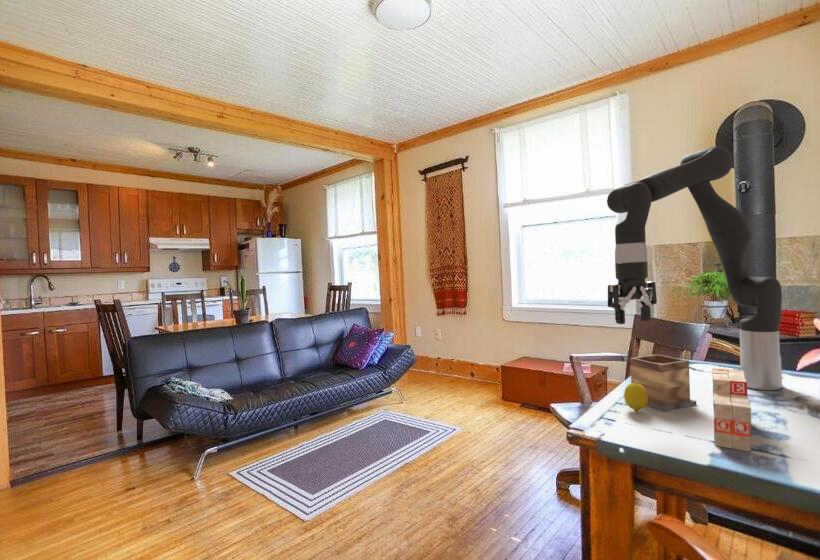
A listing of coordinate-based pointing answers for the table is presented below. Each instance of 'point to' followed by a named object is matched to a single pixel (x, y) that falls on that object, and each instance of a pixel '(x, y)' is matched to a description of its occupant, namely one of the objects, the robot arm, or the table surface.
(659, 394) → the open wooden crate
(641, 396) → the lemon
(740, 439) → the stack of blocks
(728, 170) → the robot arm
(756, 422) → the table surface
